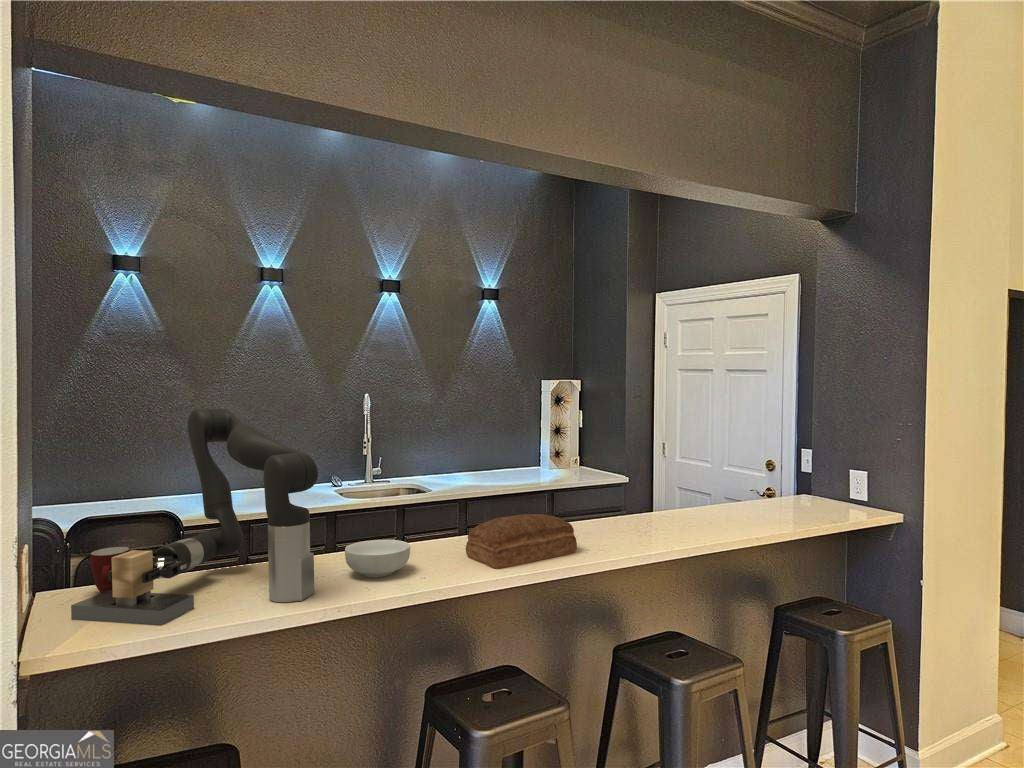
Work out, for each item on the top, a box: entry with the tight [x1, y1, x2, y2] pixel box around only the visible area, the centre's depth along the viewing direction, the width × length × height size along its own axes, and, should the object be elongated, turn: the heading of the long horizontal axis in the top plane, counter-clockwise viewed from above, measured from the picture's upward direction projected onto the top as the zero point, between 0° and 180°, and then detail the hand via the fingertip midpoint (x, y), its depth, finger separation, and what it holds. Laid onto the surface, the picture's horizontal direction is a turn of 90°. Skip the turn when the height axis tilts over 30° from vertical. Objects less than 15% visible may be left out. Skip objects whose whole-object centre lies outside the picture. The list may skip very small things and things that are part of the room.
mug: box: [89, 546, 131, 594], centre depth 157 cm, size 10×8×10 cm
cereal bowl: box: [344, 539, 411, 578], centre depth 172 cm, size 17×17×7 cm
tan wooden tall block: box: [112, 549, 154, 606], centre depth 143 cm, size 5×6×13 cm
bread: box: [465, 513, 578, 570], centre depth 187 cm, size 17×29×11 cm, turn 124°
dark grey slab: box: [70, 590, 195, 626], centre depth 143 cm, size 22×10×3 cm, turn 79°
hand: (126, 577), depth 141 cm, fingers open, 8 cm apart
